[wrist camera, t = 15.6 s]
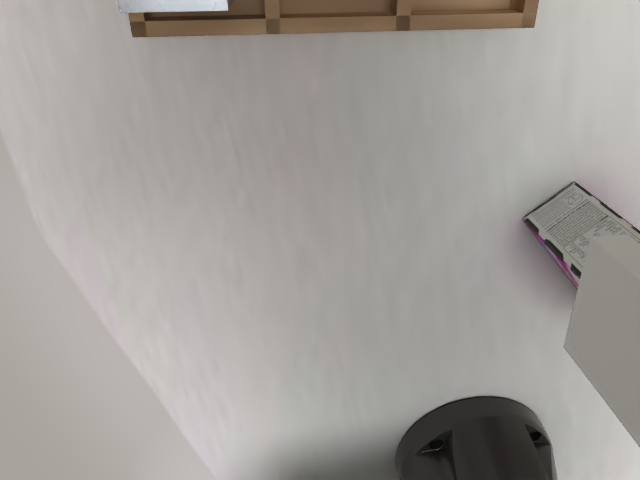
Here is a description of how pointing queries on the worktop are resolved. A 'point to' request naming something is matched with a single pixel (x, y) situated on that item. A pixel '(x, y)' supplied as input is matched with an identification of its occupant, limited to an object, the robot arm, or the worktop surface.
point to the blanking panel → (173, 5)
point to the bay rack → (337, 17)
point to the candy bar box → (575, 227)
